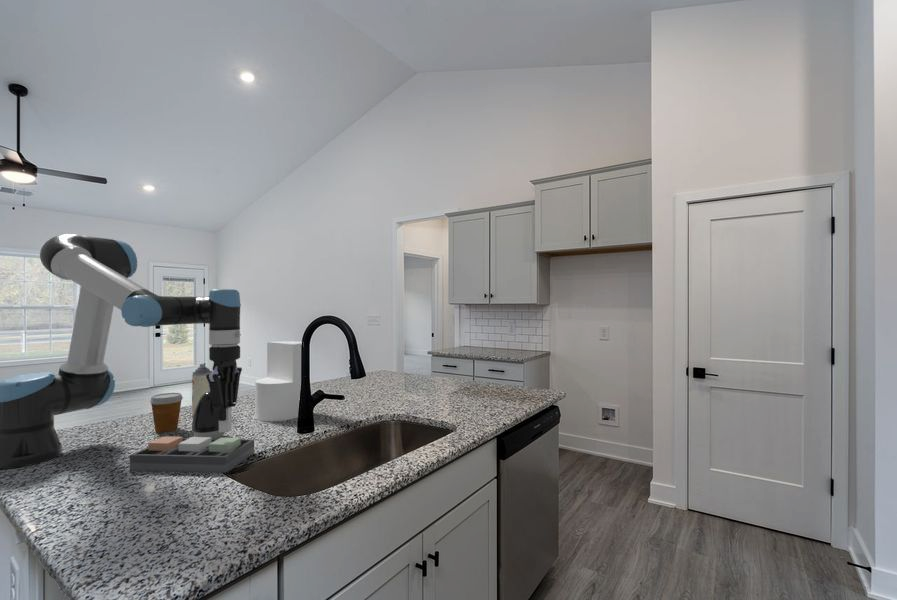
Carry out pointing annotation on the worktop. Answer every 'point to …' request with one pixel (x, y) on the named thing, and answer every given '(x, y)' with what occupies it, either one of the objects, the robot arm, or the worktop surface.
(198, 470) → the grey compartment tray
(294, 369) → the white toilet
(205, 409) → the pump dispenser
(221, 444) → the key sage
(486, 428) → the worktop surface
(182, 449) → the key grey
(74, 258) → the robot arm
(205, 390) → the aerosol can
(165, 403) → the disposable coffee cup
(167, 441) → the key terracotta
